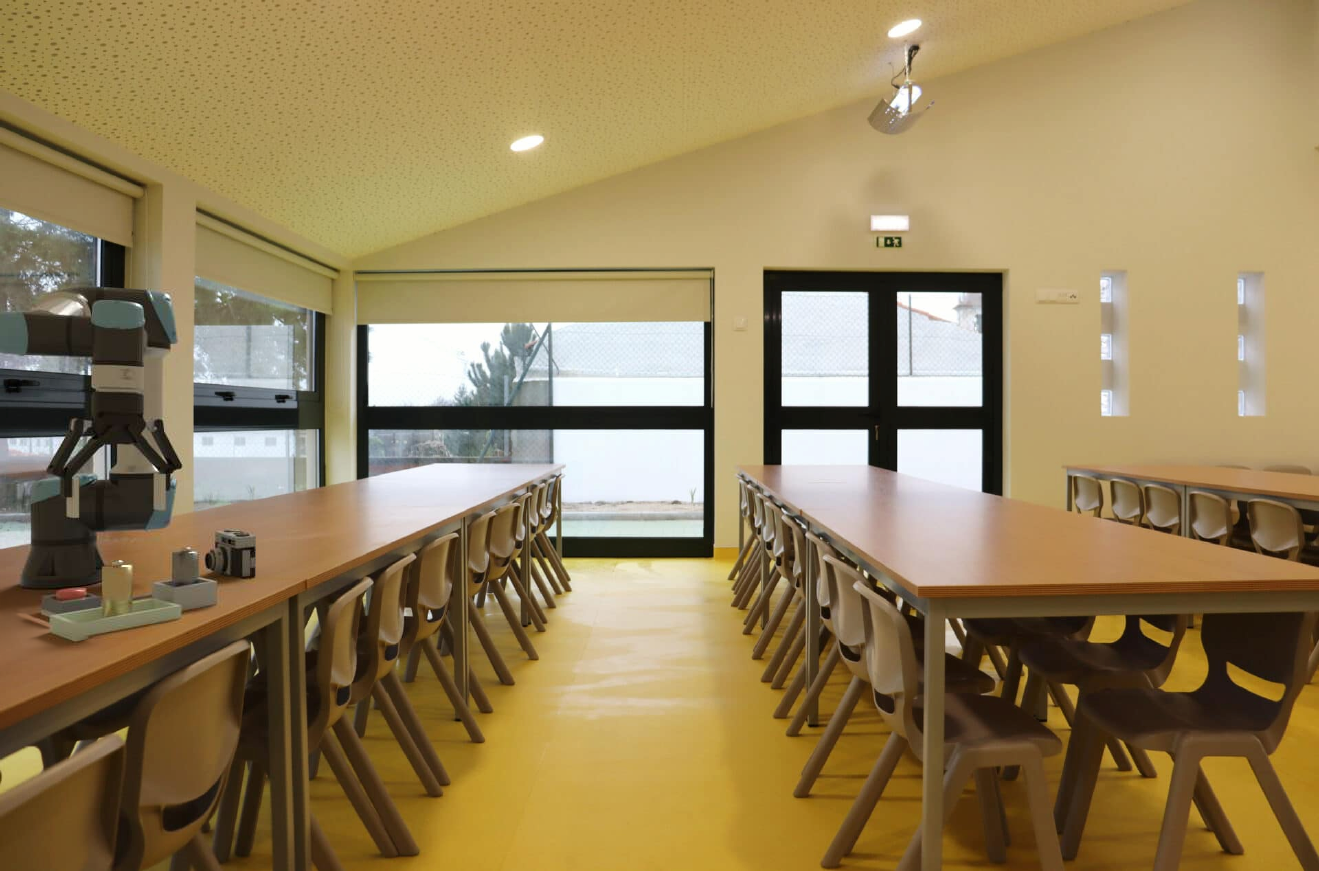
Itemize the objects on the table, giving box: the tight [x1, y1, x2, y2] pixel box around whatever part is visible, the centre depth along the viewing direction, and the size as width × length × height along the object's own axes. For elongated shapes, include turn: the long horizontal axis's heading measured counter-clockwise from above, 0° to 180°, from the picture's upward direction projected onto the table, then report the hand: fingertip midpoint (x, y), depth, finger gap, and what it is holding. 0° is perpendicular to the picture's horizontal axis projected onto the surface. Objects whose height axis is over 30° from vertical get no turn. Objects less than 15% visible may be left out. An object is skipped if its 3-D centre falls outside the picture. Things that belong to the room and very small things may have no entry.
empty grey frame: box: [133, 593, 152, 601], centre depth 156 cm, size 8×10×1 cm
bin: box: [151, 576, 218, 612], centre depth 154 cm, size 8×8×5 cm
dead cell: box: [171, 547, 200, 587], centre depth 154 cm, size 4×4×11 cm
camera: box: [204, 528, 257, 580], centre depth 186 cm, size 14×8×10 cm, turn 47°
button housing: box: [40, 592, 102, 618], centre depth 147 cm, size 9×7×4 cm
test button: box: [55, 587, 87, 601], centre depth 147 cm, size 4×4×2 cm
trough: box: [49, 598, 182, 642], centre depth 141 cm, size 10×17×3 cm, turn 147°
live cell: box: [101, 560, 134, 618], centre depth 141 cm, size 4×4×11 cm
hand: (117, 513), depth 140 cm, fingers open, 13 cm apart
